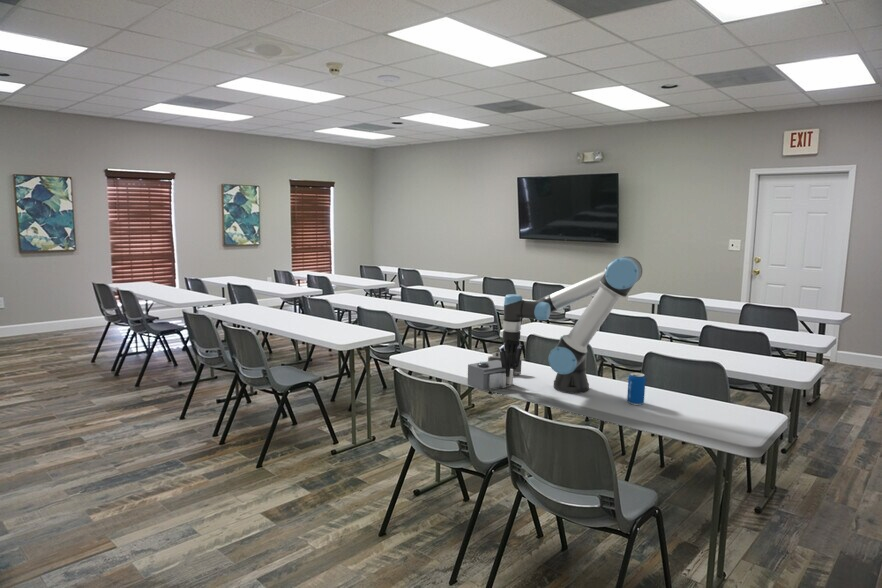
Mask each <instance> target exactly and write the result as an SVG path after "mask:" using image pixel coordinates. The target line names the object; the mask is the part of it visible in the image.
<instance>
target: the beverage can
mask: <svg viewBox="0 0 882 588" xmlns="http://www.w3.org/2000/svg"><path fill="white" fill-rule="evenodd" d="M646 379H647V378H646V375H645V374H644V373H642V372H630V373H629V375H628V379H627V380H628V381H627V395H626V398H627V399H626V401H627V402H628V403H629V404H630V403H631V404H630V405H633V404H635V405H634V406H641V405H642V404H644V403H645V394H646V393H645V392H646ZM640 404H641V405H640Z"/></svg>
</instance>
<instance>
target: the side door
mask: <svg viewBox="0 0 882 588" xmlns="http://www.w3.org/2000/svg"><path fill="white" fill-rule="evenodd" d="M495 387H501V388H502V389H505V388H506V374H505V373H503V372H498V373H493V374H489V382H488V388H489V389H490V388H495ZM501 388H500V389H501Z"/></svg>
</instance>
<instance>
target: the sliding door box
mask: <svg viewBox="0 0 882 588" xmlns="http://www.w3.org/2000/svg"><path fill="white" fill-rule="evenodd" d="M498 372H503V373H505V374H506V369H505V368H502V364H501V361H500V360H493V361H488V360H487V361H479V362H476V363H470V364H469V363H468V364H467V385H468V386H471V387H474V388H477V389H479V390H481V391H484V392H486V391H492V390H496V389H501V387H495V388H490V389H489V388H488V382H489V374H493V373H498ZM514 385H515V384H514V383H513V384H511V385H510V384H507V383H506V387H511V386H514Z"/></svg>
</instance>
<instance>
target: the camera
mask: <svg viewBox="0 0 882 588" xmlns="http://www.w3.org/2000/svg"><path fill="white" fill-rule="evenodd" d="M493 360H500V361H501V357H500V352H496V351H495V352H492V354H491V355H490V356H489V355H488V358H487V361H493ZM522 360H523V359H522V357H521V356H520V361H519V365H518V367H516V369H514V376H519V375H521V374H522Z"/></svg>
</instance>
